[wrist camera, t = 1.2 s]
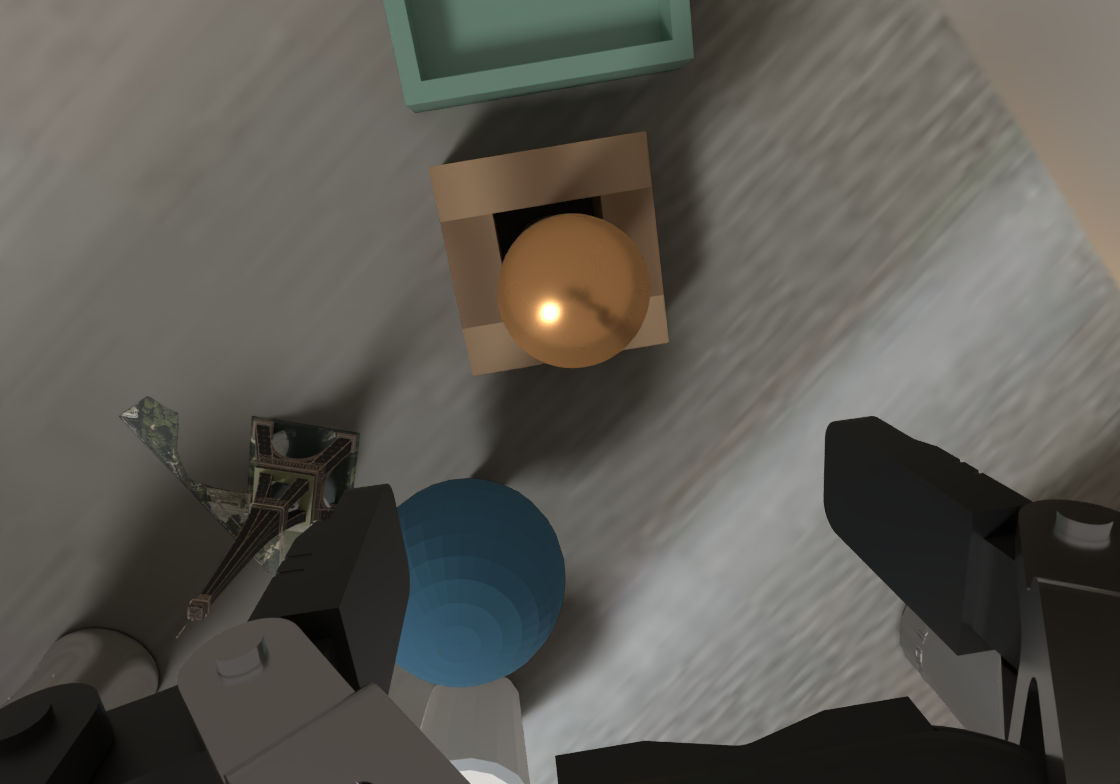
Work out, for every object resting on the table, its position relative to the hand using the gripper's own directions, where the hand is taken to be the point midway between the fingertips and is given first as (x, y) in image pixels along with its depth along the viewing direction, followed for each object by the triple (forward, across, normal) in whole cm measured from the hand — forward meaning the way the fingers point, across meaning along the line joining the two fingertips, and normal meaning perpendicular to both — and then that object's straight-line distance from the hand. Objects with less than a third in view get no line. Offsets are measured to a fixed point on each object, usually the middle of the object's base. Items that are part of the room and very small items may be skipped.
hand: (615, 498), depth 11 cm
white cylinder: (+21, +7, +24) cm, 33 cm away
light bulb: (+21, +5, +10) cm, 24 cm away
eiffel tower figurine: (+22, +14, +7) cm, 27 cm away
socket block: (+21, -1, -2) cm, 21 cm away
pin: (+21, -1, -2) cm, 21 cm away
